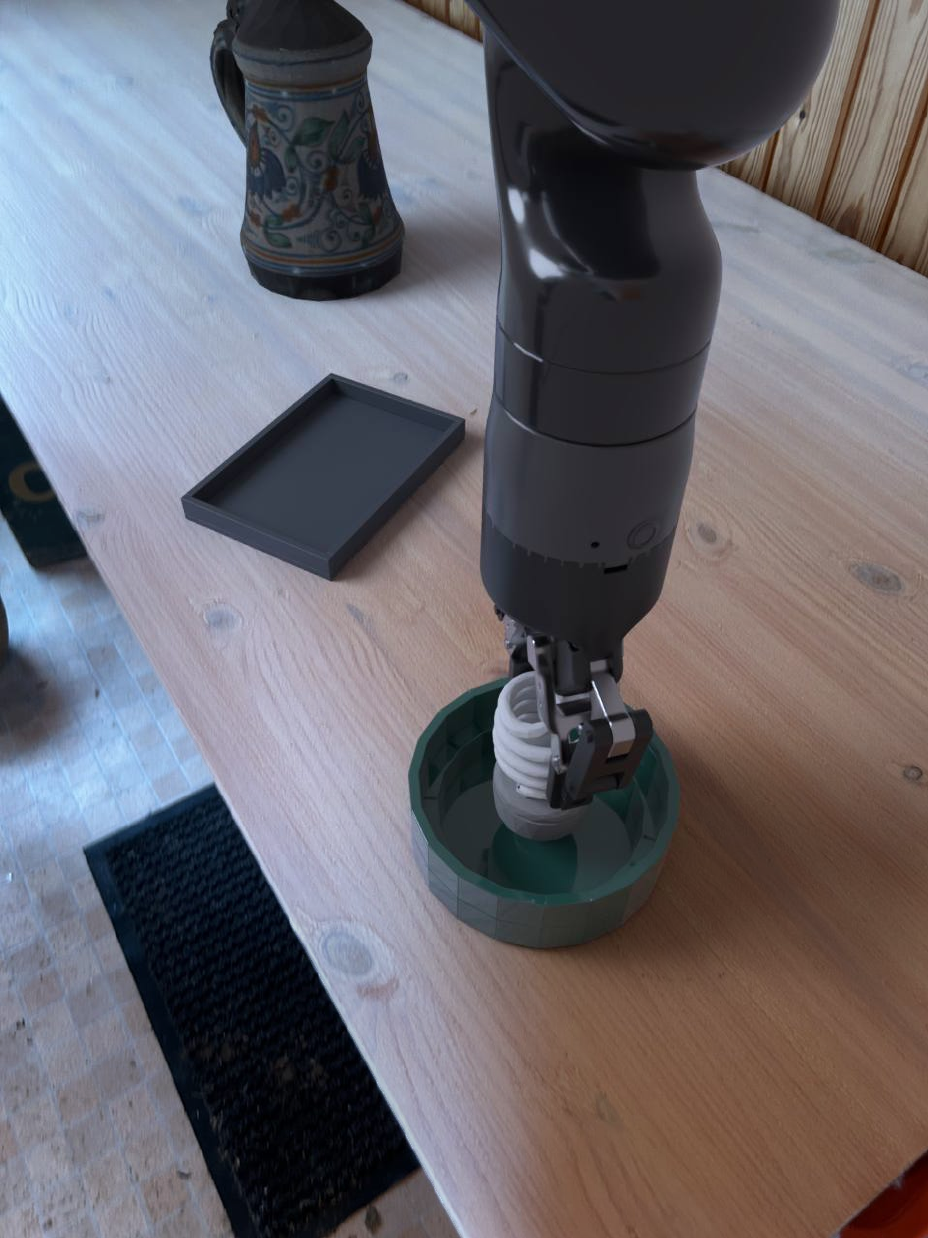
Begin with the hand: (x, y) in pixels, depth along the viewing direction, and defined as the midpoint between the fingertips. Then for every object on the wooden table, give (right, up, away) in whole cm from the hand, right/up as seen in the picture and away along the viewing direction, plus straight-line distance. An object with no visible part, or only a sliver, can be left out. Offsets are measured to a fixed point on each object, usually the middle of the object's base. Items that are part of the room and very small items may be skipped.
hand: (548, 748), depth 49 cm
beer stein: (-20, +43, +51) cm, 70 cm away
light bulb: (0, -5, +6) cm, 8 cm away
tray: (-15, +18, +27) cm, 35 cm away
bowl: (0, -5, +6) cm, 8 cm away
